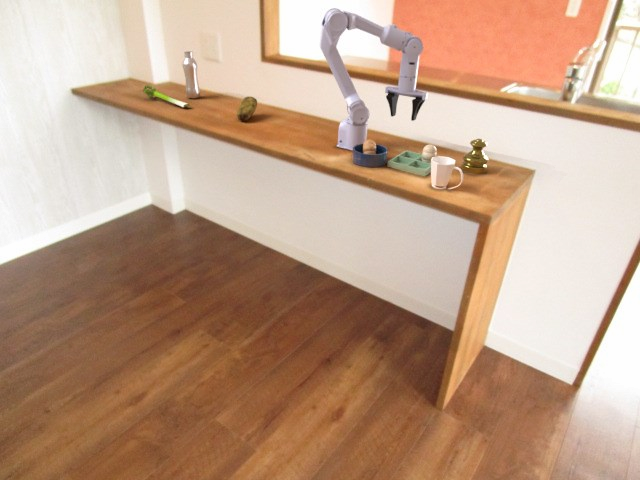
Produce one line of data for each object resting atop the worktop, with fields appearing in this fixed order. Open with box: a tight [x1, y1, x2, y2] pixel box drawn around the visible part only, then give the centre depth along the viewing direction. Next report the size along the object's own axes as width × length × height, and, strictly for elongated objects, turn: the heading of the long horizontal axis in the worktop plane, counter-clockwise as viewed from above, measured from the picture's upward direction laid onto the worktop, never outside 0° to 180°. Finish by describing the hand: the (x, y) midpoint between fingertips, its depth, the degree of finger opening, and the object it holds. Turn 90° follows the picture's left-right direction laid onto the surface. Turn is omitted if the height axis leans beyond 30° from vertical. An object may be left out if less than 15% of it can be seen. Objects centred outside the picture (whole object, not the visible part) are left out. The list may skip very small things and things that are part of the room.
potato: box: [236, 96, 258, 122], centre depth 184 cm, size 8×13×8 cm, turn 151°
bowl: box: [351, 143, 389, 168], centre depth 146 cm, size 11×11×4 cm
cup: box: [430, 155, 464, 191], centre depth 129 cm, size 7×10×8 cm
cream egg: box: [421, 143, 438, 163], centre depth 144 cm, size 4×4×7 cm
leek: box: [142, 84, 191, 109], centre depth 204 cm, size 6×7×30 cm
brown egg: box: [363, 138, 377, 154], centre depth 147 cm, size 4×4×7 cm
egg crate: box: [386, 149, 431, 177], centre depth 144 cm, size 13×13×2 cm
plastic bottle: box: [181, 51, 201, 99], centre depth 208 cm, size 6×7×20 cm
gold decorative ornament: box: [460, 138, 489, 175], centre depth 141 cm, size 7×7×10 cm
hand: (403, 117), depth 155 cm, fingers open, 7 cm apart
